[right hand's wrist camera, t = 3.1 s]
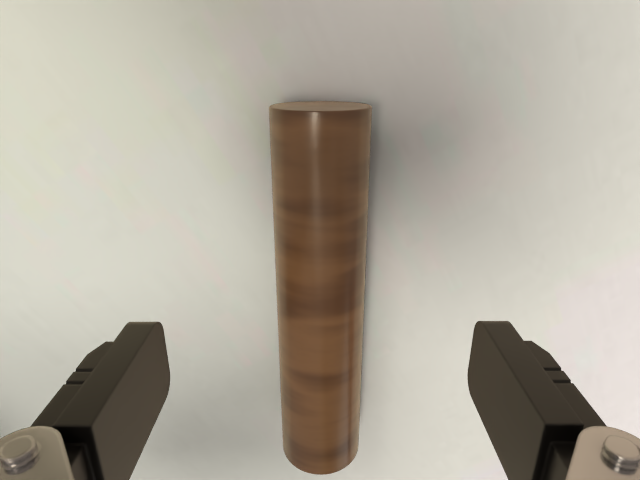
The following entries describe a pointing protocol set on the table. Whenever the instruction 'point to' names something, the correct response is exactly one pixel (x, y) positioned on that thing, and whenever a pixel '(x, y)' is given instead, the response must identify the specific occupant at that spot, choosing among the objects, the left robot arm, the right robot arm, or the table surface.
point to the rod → (320, 274)
